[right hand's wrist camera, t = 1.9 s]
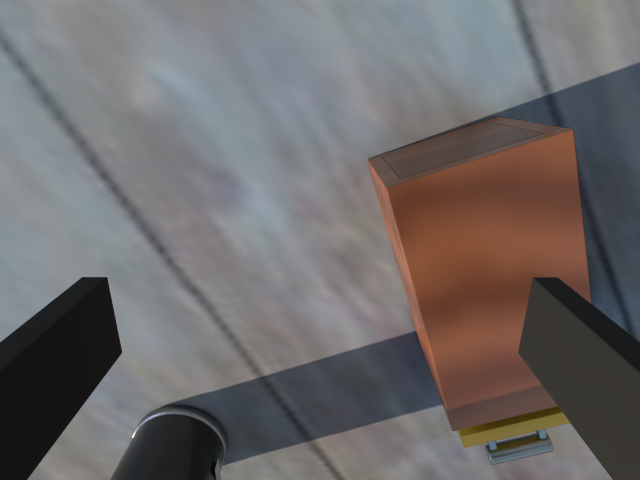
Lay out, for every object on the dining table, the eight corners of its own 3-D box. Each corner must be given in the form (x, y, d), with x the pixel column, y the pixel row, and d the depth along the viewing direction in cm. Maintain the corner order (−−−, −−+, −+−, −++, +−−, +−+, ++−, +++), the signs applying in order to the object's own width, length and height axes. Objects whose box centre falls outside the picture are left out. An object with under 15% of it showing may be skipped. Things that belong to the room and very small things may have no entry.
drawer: (543, 398, 39) (594, 469, 32) (448, 421, 40) (477, 495, 33) (506, 175, 32) (561, 202, 24) (390, 211, 33) (410, 246, 25)
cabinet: (532, 319, 37) (602, 395, 28) (421, 349, 38) (452, 431, 29) (499, 116, 31) (574, 128, 22) (366, 158, 32) (385, 188, 23)
